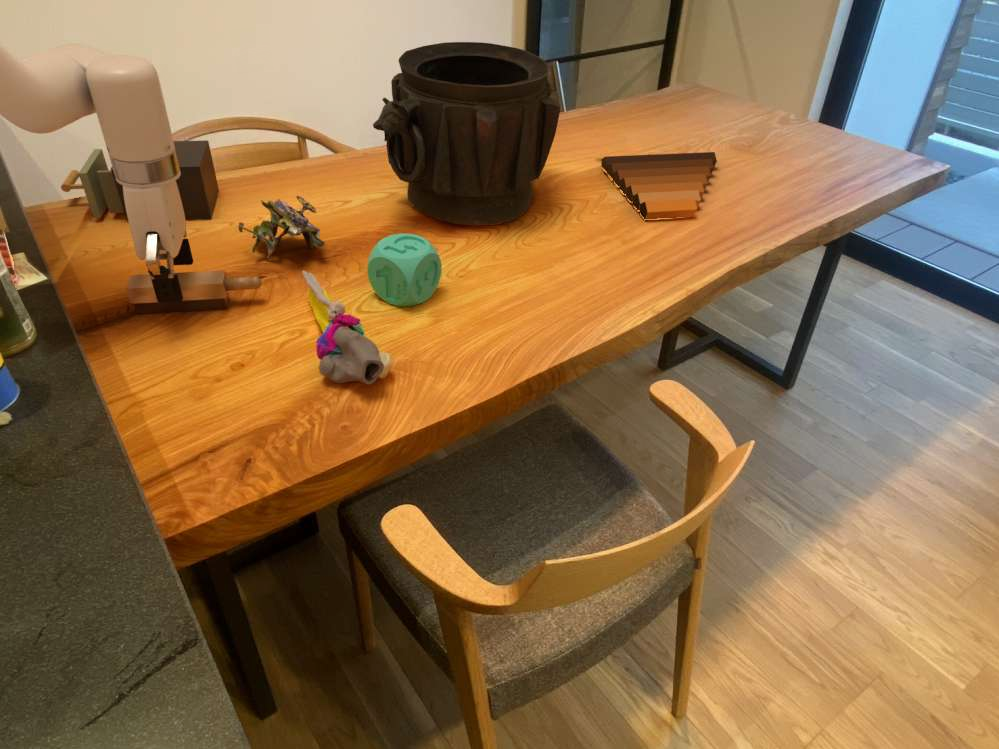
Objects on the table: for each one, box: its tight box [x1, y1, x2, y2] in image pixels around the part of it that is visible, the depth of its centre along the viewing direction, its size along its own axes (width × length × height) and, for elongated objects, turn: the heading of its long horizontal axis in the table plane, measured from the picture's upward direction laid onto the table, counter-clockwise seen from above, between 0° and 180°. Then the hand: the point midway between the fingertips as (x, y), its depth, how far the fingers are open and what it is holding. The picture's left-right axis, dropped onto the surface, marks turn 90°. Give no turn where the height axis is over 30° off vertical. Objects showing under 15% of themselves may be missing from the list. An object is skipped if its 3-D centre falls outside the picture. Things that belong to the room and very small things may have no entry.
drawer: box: [60, 148, 125, 218], centre depth 119 cm, size 17×10×8 cm, turn 101°
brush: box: [125, 269, 263, 315], centre depth 99 cm, size 18×4×4 cm, turn 101°
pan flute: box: [600, 151, 718, 219], centre depth 139 cm, size 25×3×25 cm
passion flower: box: [238, 195, 326, 262], centre depth 110 cm, size 11×11×12 cm
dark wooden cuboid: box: [110, 140, 220, 224], centre depth 120 cm, size 14×12×10 cm
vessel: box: [372, 41, 561, 226], centre depth 124 cm, size 31×32×25 cm
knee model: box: [301, 270, 394, 386], centre depth 93 cm, size 9×8×25 cm
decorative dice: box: [366, 233, 443, 307], centre depth 103 cm, size 8×8×8 cm
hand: (176, 281), depth 97 cm, fingers open, 9 cm apart
